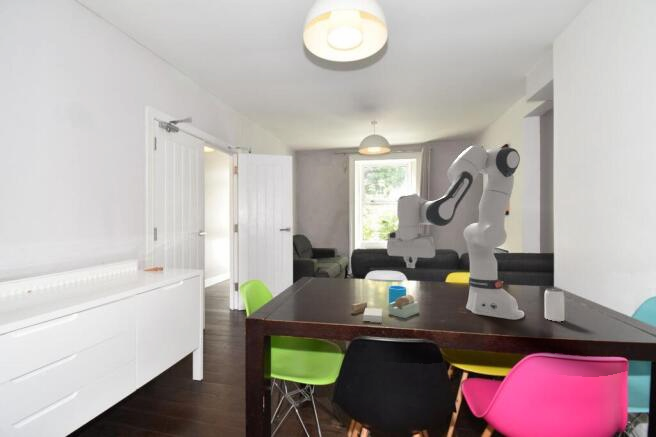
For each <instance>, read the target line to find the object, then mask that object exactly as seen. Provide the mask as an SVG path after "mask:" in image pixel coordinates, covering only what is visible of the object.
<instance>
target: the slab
mask: <svg viewBox="0 0 656 437" xmlns="http://www.w3.org/2000/svg"><path fill="white" fill-rule="evenodd" d="M364 321H370V322H369V323H379V322H380V324H381V323H382V321H383V308H374V307H367V308H365V311H363V322H364Z"/></svg>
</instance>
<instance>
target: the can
mask: <svg viewBox="0 0 656 437" xmlns="http://www.w3.org/2000/svg"><path fill="white" fill-rule="evenodd" d="M544 318H545V320H547V319H548V321H550V320H552V321H551V322H554V321H557V322H556V323H562V322H561V321H563V322H564V321H565V294H564V290H563V289H559V288H545V291H544Z"/></svg>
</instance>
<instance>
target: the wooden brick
mask: <svg viewBox="0 0 656 437" xmlns="http://www.w3.org/2000/svg"><path fill="white" fill-rule="evenodd" d="M365 308H368V301H365V300H364V301H360V302H356V303H353V304H351V314H355V315H356V314H358V313H363V312H364V311H365ZM362 311H363V312H362Z"/></svg>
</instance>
